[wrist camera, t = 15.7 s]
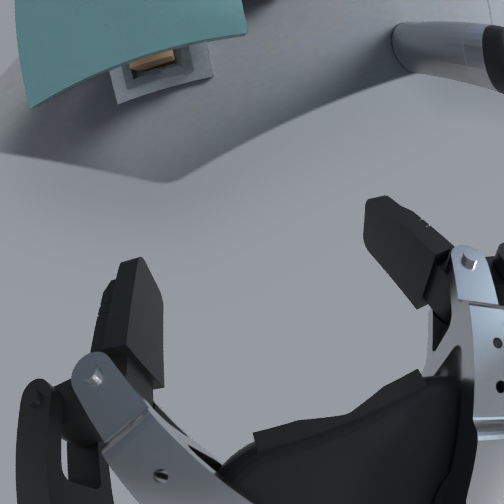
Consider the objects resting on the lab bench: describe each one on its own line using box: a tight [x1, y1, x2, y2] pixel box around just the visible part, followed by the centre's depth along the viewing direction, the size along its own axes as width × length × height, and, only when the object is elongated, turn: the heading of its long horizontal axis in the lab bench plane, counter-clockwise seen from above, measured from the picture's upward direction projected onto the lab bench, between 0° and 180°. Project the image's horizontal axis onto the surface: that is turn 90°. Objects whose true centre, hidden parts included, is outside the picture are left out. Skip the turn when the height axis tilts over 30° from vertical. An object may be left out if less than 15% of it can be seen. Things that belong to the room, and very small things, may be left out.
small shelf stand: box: [15, 0, 248, 109], centre depth 16 cm, size 13×13×20 cm
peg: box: [129, 50, 176, 72], centre depth 21 cm, size 4×4×8 cm
